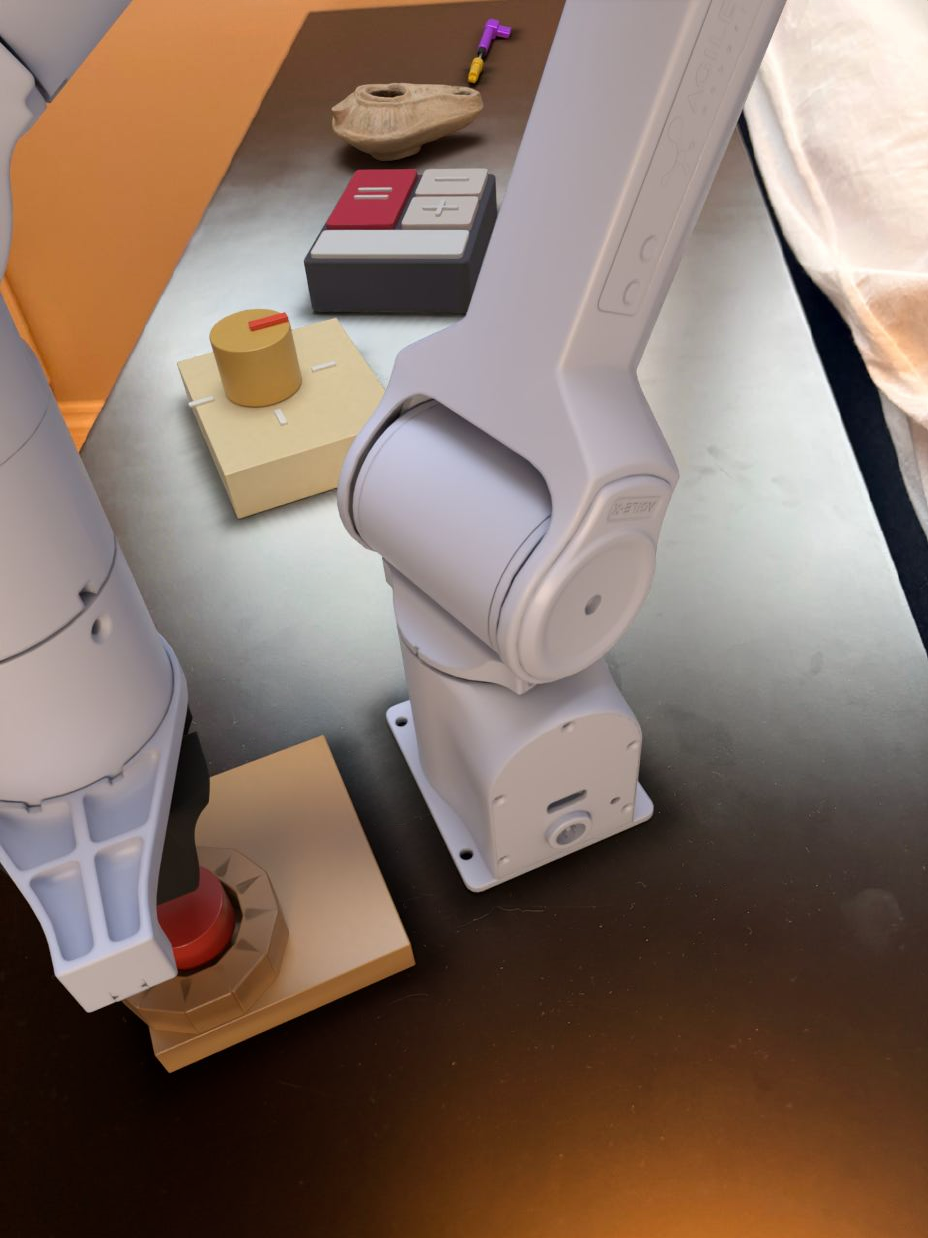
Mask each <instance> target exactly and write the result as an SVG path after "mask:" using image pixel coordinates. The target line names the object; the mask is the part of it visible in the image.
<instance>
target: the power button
mask: <svg viewBox="0 0 928 1238" xmlns="http://www.w3.org/2000/svg"><path fill="white" fill-rule="evenodd" d="M199 869H200V881H199V887H198V888H197V890H196V891H193V892H191V893H188V894H186V895H183V896H181V897H178V898H176V899H173V900H171V901H168V902H166V903H163V904H161V905H158V906H156V910H157V920H158V923H159V925H160V927H161V929H162V930H163V932H164V933H165V935H166V936H167V938H168V939H169V941H170V943H171V945H172V950H173V954H174V958H175V962H176V967H177V971H191V970H196V969H198V968H201V967H203V966H205V965H207V964H209V963H211V962H212V961H213V960H215V959H216V958H217V957H218V956H219V955H220V954H221V953H222V952H223V951H224V950H225V949H226V947H227V946H228V944H229V942H230V940H231V938H232V936H233V933H234V929H235V922H236V920H235V912H234V909H233V906H232V904H231V902H230V900H229V898H228V896H227V894H226V892H225V890H224V889H223V887H222V885H221V883H220V881H219V879H218V878H217V877H216V875H215V874H214V873H212V872H211V871H210V870H208V869H206V868H204V867H202V866H199Z"/></svg>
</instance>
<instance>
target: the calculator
mask: <svg viewBox="0 0 928 1238" xmlns="http://www.w3.org/2000/svg"><path fill="white" fill-rule="evenodd" d="M488 170H489V169H487V168H427V169H426V170H424V171H423V174H419V171H418V170H417V169H416V168H406V169H405V168H404V169H403V168H402V169H399V168H397V169H357V170H356V171H355V172H354V174H353V175H352V177H351V178H350V180H349V181H348V183H347V185H346V187H345V188H344V190H343V192H342V193H341V195H340V197H339V199H338V200H337V202H336V204H335V206H334V207H333V209H332V210H331V212H330V214H329V216H328V218H327V219H326V221H325V223H324V224H323V226H322V228H321V230H320V231H319V233H318V235H317V236H316V238H315V240H314V242H313V243H312V245H311V246H310V248H309V250H308V252H307V254H306V255H305V257H304V259H303V267H304V271H305V278H306V283H307V288H308V293H309V294H308V295H309V300H310V305H311V309H312V311H313V312H322V313H323V312H325V313H326V312H327V313H328V312H329V313H330V312H332V313H333V312H334V313H335V312H336V313H339V312H340V313H341V312H342V313H346V312H347V313H418V314H419V313H425V314H426V313H429V314H430V313H431V314H467V311H468V308H469V305H470V302H471V298H472V295H473V292H474V289H475V286H476V283H477V280H478V276H479V273H480V270H481V267H482V264H483V261H484V258H485V254H486V251H487V248H488V245H489V242H490V239H491V235H492V232H493V229H494V226H495V223H496V220H497V216H498V204H497V202H498V201H497V200H498V199H497V181H496V180H497V179H496V175H495V174H493V173H489V171H488Z"/></svg>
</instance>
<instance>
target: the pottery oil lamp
mask: <svg viewBox="0 0 928 1238" xmlns="http://www.w3.org/2000/svg"><path fill="white" fill-rule="evenodd" d="M483 109H484V102H483V99H482V95H481V93H480V92H479V91H478V90H476V89H474V88H472V87H467V86H460V85H459V86H458V85H446V84H434V83H433V84H429V83H427V84H425V83H423V84H419V83H406V82H399V83H398V82H392V83H372V84H368V83H367V84H362V85H358V86H357V87H356V88H355V90H354V91H352V92H351V93H350V94H349V95H347V97H345V99H343V100H341V101H340V102H338V103H336V104H335V105H334V106H333V107H331V112H332V119H331V127H332V131H333V134H334V135H335V136H336V137H338V138H339V139H340V140H342V141H343V142H346V143H347V144H349V145H351V146H352V147H354V148H356V149H357V150H359V151H360V152H363V153H365V154H367V155H370V156H371V157H372V158H373V159H375V160H378V161H380V162H392V161H397V160H401V159H405V158H407V157H408V158H409V157H411V156H413V155H416V154H418V153H419V152H420V151H421V148H422V146H423V145H425V144H429V143H431V142H435V141H437V140H440V139H442V138H443V137H445V136H448V135H450V134H453V133H457V132H458V131H460V130H463V129H464V128H467V127H468V126H470V125H471V124H473V122H474V121H476V119H477V118H478V116H479V115H480V114H481V113H482V111H483Z"/></svg>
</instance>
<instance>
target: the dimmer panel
mask: <svg viewBox="0 0 928 1238" xmlns="http://www.w3.org/2000/svg"><path fill="white" fill-rule="evenodd" d="M291 330H292V335H293V339H294V344H295V349H296V353H297V358H298V362H299V367H300V371H301V376H302V381H301V385H300V387H299V388H298V390H297V391H296V392H295V393H294V394H292V395H291V396H290V397H288V398H286V399H285V400H283V401H280V402H278V403H275V404H271V405H267V406H259V407H250V406H243V405H239V404H236V403H234V402H232V401H231V400H230V399H229V398H228V397H227V396H226V394H225V391H224V388H223V384H222V381H221V377H220V374H219V370H218V367H217V363H216V360H215V357H214V353H213V351H211V352H207V353H204V354H200V355H197V356H194V357H190V358H186V359H182V360H178V361H176V365H177V369H178V371H179V375H180V378H181V381H182V384H183V387H184V391H185V393H186V396H187V399H188V403H187V404H188V406H189V408H190V409H191V410H192V412H193V415H194V417H195V420H196V422H197V424H198V427H199V429H200V432H201V434H202V436H203V439H204V441H205V444H206V446H207V448H208V450H209V454H210V455H211V458H212V460H213V463H214V465H215V468H216V470H217V472H218V475H219V477H220V480H221V482H222V485H223V487H224V489H225V491H226V494H227V496H228V499H229V500H230V501H229V502H230V503H231V505H232V508H233V510H234V513H235V515H236V517H237V519H238V520H240V519H243V518H246V517H249V516H252V515H255V514H259V513H261V512H264V511H265V512H266V511H268V510H271V509H274V508H277V507H281V506H283V505H287V504H289V503H290V504H291V503H292V502H297V501H299V500H303V499H305V498H309V497H312V496H316V495H318V494H321V493H324V492H327V491H331V490H335V489H337V487H338V479H339V475H340V472H341V468H342V464H343V462H344V460H345V457H346V455H347V452H348V450H349V448H350V447H351V445H352V443H353V441H354V440H355V438H356V436H357V435H358V433H359V432H360V431H361V429H362V428H363V427H364V425H365V424H366V423H367V421H368V420H369V419H370V417H371V416H372V415H373V413H374V412H375V410H376V408H377V407H378V405H379V403H380V402H381V400H382V397H383V395H384V393H385V391H386V389H385V387H384V386H383V384H382V383H381V381H380V380H379V379H378V377H377V376H376V374H375V373H374V371H373V369H372V368H371V367H370V365H369V364H368V362H367V361H366V360H365V358H364V357H363V355H362V353H361V352H360V351H359V349H358V347H357V346H356V345H355V343H354V342H353V340H352V339H351V337H350V335H349V334H348V333H347V331H346V330H345V328H344V327H343V326H342V324H341V323H340V321H339V319H338V318H337V317H334V318H330V319H327V320H323V321H320V322H316V323H312V324H308V325H304V326H301V327H298V328H294V329H291Z"/></svg>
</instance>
